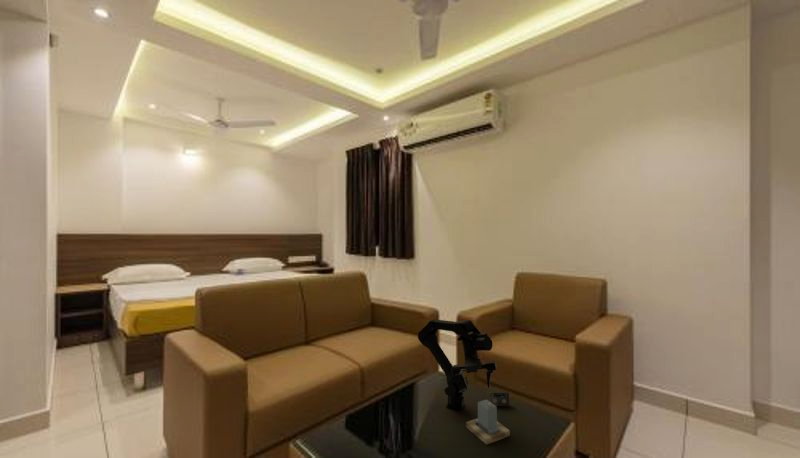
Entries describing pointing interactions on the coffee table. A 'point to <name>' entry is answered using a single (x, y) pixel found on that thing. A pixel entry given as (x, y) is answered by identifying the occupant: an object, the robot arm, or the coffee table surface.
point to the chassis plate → (484, 436)
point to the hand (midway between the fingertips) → (477, 388)
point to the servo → (487, 417)
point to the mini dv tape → (499, 398)
